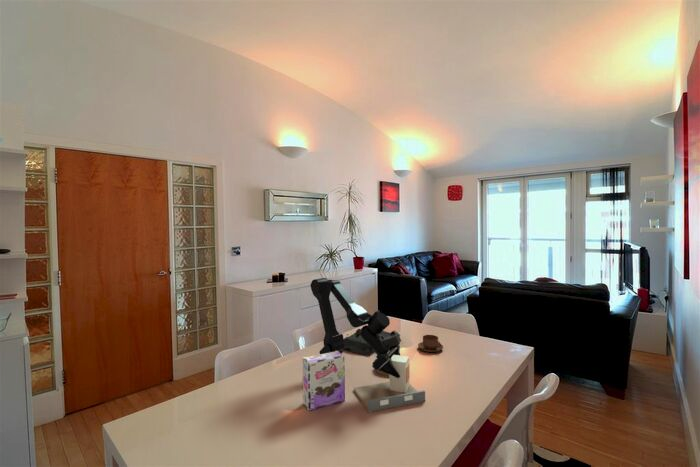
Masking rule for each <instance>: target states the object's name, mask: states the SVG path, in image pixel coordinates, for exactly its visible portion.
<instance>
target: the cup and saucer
mask: <svg viewBox="0 0 700 467" xmlns="http://www.w3.org/2000/svg"><path fill="white" fill-rule="evenodd" d="M417 346H418V348H419V349H420V350H422V351H423V352H428V353H436V352H440V351H442V350H443V349H444V346H443V344H442V343H441V342H440V341H439V337H438V336H437V335H436V334H435V335H434V334H425V335H424V334H423V336H422V342H419V343H418V344H417Z"/></svg>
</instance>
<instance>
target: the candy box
mask: <svg viewBox="0 0 700 467" xmlns="http://www.w3.org/2000/svg"><path fill="white" fill-rule="evenodd" d="M345 378H346V375H345V355H344V354H343V353H342V354H341V353H340V352H338V351H335V352H330V353H325V354H320V353H319V354H316V355H311V356H304V357H302V404H304V406H305V407H306V409H307V410H308V411H312V410H316V409H321V408H323V407H328V406H330V405H335V404H337V403H342V402H345V401H346V393H345V392H346V391H345V390H346V386H345V385H346V382H345V380H346V379H345Z"/></svg>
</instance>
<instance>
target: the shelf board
mask: <svg viewBox="0 0 700 467" xmlns="http://www.w3.org/2000/svg"><path fill="white" fill-rule="evenodd" d="M353 391H354V393H355V394H356V396H357V397H358V399H360V402H361V403H362V404H363V406H364V408H366V410H367V411H368V400H373V399H379V398H384V397H390V396H395V395H401V394H406V393H412V392H417V391H418V390H417V389H416V388H414V386H412V385H411V384H410V383H409V387H408V389H407V391H406V393H404V392H399V391H393V390H390V381H386V382H380V383H374V384H369V385H363V386H357V387H353Z"/></svg>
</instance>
